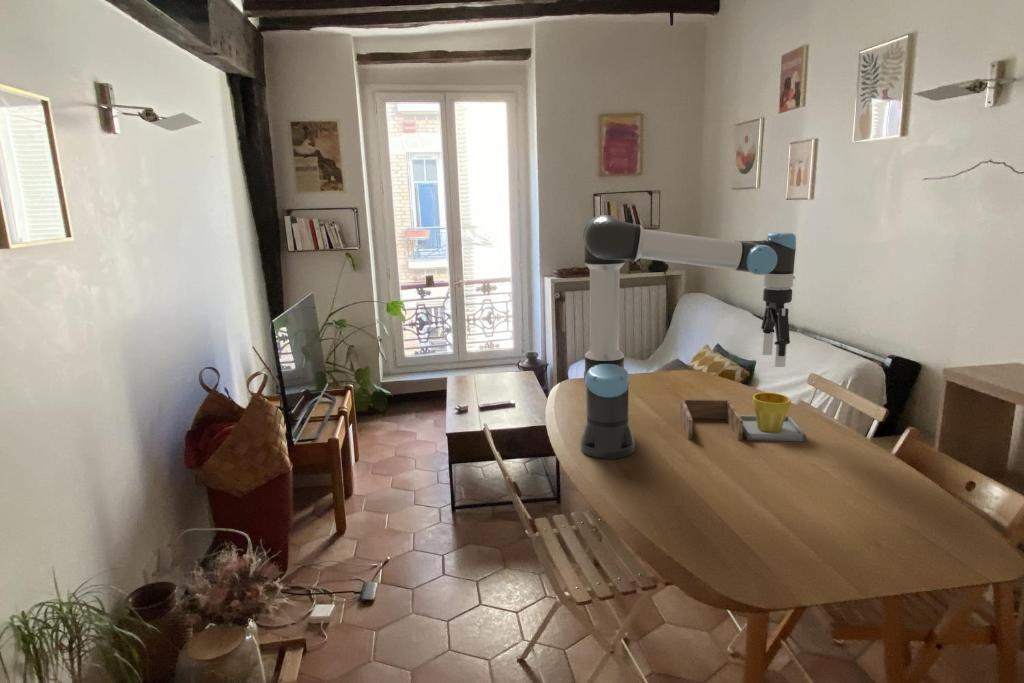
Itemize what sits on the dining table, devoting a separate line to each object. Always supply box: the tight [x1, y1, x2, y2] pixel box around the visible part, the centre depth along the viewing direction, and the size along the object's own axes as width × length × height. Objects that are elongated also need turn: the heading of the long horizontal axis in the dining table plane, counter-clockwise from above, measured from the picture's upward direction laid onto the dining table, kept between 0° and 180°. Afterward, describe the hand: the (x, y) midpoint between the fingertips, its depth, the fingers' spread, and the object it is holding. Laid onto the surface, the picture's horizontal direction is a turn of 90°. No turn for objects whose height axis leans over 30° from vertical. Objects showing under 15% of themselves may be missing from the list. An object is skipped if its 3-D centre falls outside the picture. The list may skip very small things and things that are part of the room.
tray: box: [739, 414, 806, 442], centre depth 185 cm, size 16×16×2 cm
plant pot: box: [751, 391, 792, 433], centre depth 183 cm, size 10×10×10 cm
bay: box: [679, 398, 743, 441], centre depth 188 cm, size 19×15×6 cm
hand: (772, 360), depth 180 cm, fingers open, 13 cm apart
